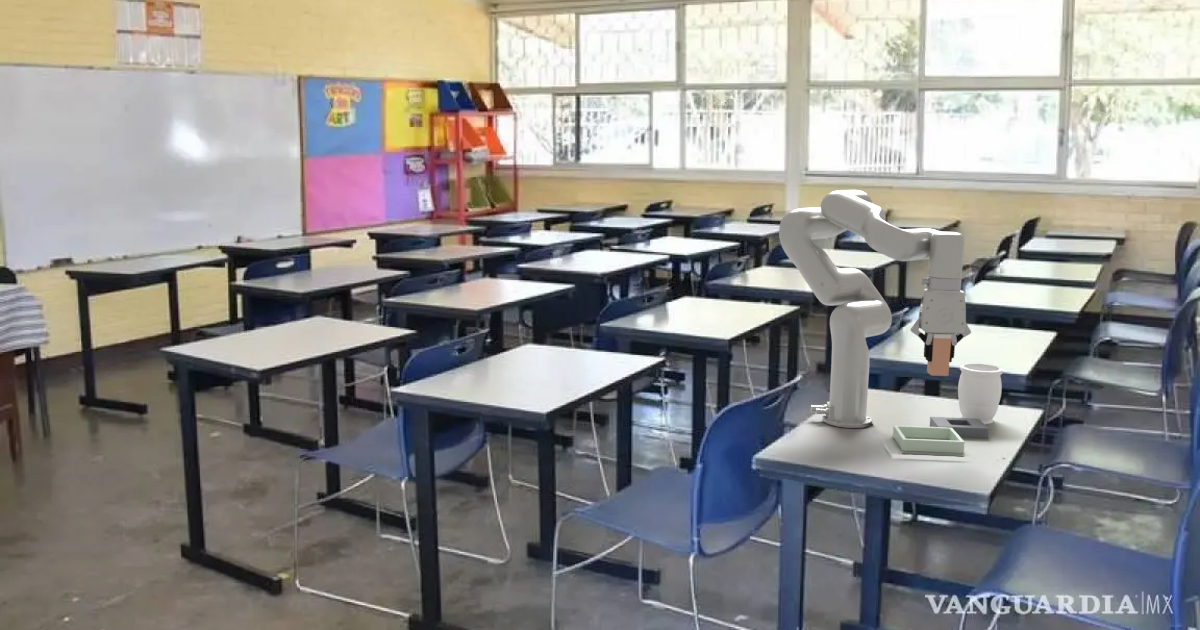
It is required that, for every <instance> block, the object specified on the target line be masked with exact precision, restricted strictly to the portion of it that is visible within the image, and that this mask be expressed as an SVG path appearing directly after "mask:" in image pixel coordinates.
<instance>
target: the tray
mask: <svg viewBox="0 0 1200 630" xmlns="http://www.w3.org/2000/svg"><path fill="white" fill-rule="evenodd" d="M892 436H893V439H894V440H895V441H896V443H897V444H898V446H899V447H900V449H901V451H910V452H911V451H912V452H933V453H937V452H938V453H954V454H956V453H957V454H958V453H960V454H964V452H965V441H964V439H963V438H962V437H960V436H959V435H958V434H957V433H956V432H955V431H954V429H953V428H947V427H930V426H918V425H917V426H916V425H893V427H892ZM901 454H902V455H906V452H905V453H904V452H903V453H901ZM909 455H914V456H930V454H926V453H924V454H922V453H908V456H909ZM932 456H934V457H935V456H938V457H954V455H951V454H950V455H949V454H946V455H945V454H932ZM956 457H959V458H960V457H962V458H963V457H964V455H956Z"/></svg>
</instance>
